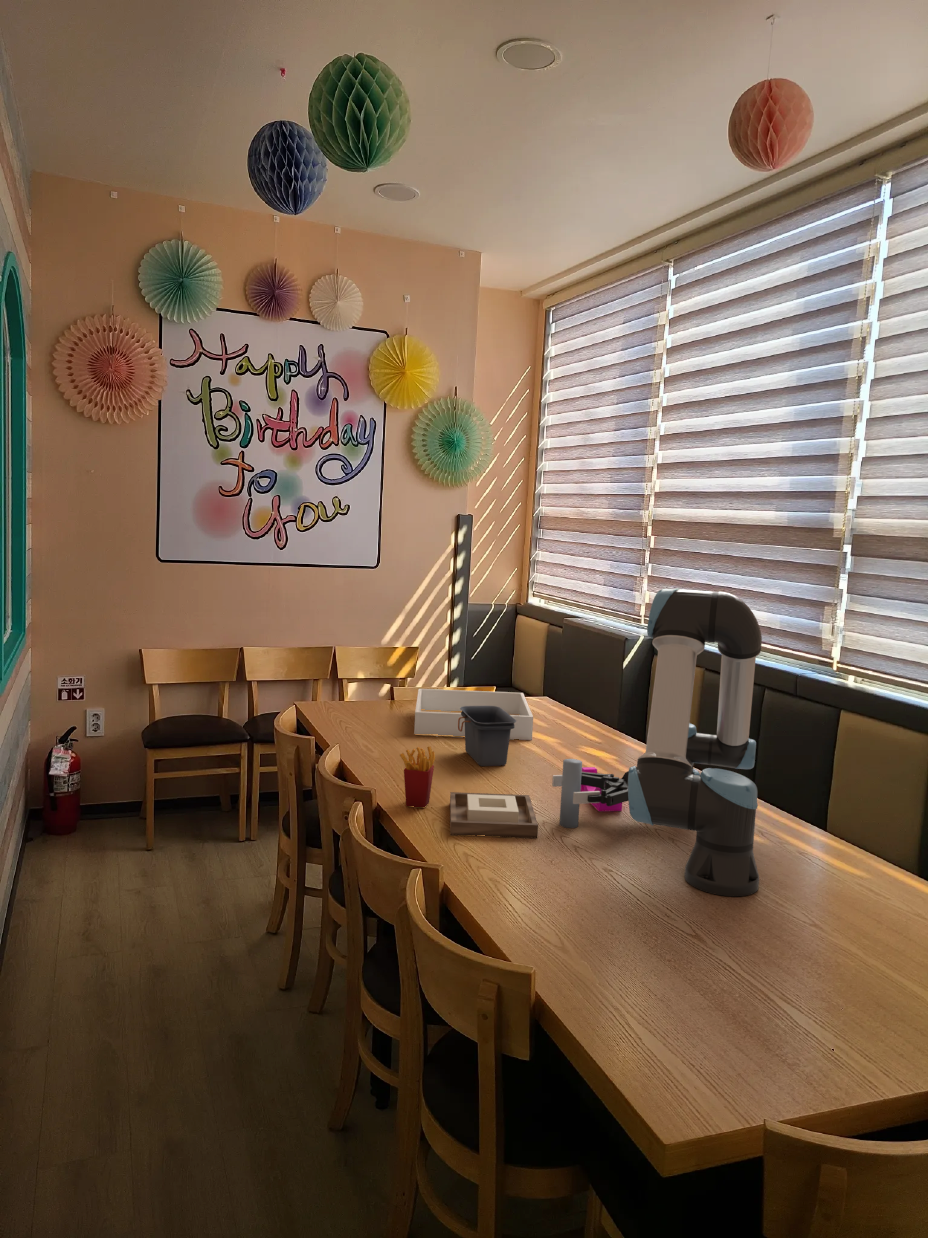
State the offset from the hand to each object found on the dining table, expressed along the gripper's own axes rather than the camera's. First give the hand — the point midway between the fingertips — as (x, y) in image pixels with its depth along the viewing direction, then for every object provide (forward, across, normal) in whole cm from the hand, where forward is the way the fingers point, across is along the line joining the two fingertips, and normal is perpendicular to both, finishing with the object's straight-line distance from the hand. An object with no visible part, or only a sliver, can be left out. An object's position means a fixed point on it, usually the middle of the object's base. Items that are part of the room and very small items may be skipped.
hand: (562, 789), depth 222 cm
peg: (-2, 0, -9) cm, 9 cm away
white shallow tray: (-7, +103, -9) cm, 103 cm away
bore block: (+16, +6, -9) cm, 19 cm away
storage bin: (+2, +59, -9) cm, 59 cm away
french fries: (+32, +21, -9) cm, 39 cm away
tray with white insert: (+16, +6, -9) cm, 19 cm away
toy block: (-18, +15, -9) cm, 25 cm away
